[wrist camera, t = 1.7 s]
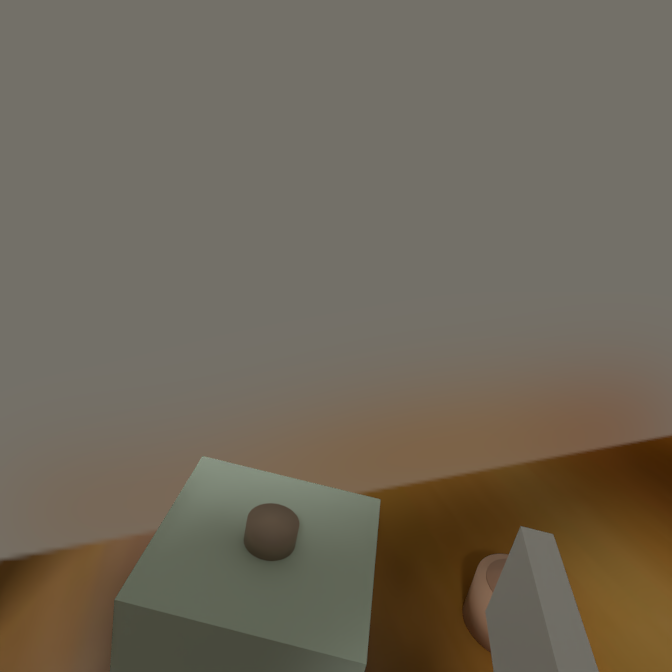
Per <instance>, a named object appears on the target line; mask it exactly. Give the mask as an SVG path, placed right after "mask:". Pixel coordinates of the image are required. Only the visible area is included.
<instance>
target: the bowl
mask: <svg viewBox="0 0 672 672" xmlns="http://www.w3.org/2000/svg"><path fill="white" fill-rule="evenodd" d="M508 555H509V554H493V555H489V556H487V557H485V558H484V559H482V560H481V562H480V563H479V565H478V567H477V570H476V573H475V575H474V578H473V581H472V583H471V586H470V589H469V591H468V594H467V596H466V599H465V602H464V605H463V619H464V622H465V624H466V627H467V629H468V630H469V632H470V633H471V635H472V636H473V637H474V639H475V640H476V641H477V642H478V643H479V644H480V645H481V646H482V647H484V648H485V649H486V650H487V651H489V652H491V648H490V641H489V634H488V627H487V620H486V613H485V611H486V608H487V606H488V604H489V601H490V599H491V596H492V594H493V592H494V589H495V587H496V584H497V582H498V580H499V577H500V575H501V572H502V570H503V567H504V565H505V563H506V560H507V558H508Z"/></svg>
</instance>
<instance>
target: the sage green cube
mask: <svg viewBox="0 0 672 672" xmlns="http://www.w3.org/2000/svg"><path fill="white" fill-rule="evenodd" d="M380 500H381V499H377V498H373V497H369V496H364V495H360V494H356V493H352V492H348V491H344V490H339V489H336V488H332V487H327V486H323V485H319V484H315V483H311V482H307V481H303V480H298V479H295V478H290V477H286V476H282V475H278V474H274V473H270V472H266V471H262V470H258V469H253V468H249V467H245V466H241V465H237V464H233V463H229V462H225V461H220V460H217V459H212V458H208V457H204V456H202V458H201V460H200V461H199V463H198V465H197V466H196V468H195V469H194V471H193V473H192V475H191V476H190V478H189V479H188V481H187V483H186V484H185V486H184V488H183V489H182V491H181V492H180V494H179V496H178V497H177V499H176V501H175V502H174V504H173V505H172V507H171V509H170V510H169V512H168V514H167V515H166V517H165V518H164V520H163V522H162V523H161V525H160V526H159V528H158V530H157V531H156V533H155V535H154V536H153V538H152V539H151V541H150V543H149V544H148V546H147V548H146V549H145V551H144V552H143V554H142V556H141V557H140V559H139V561H138V562H137V564H136V566H135V567H134V569H133V570H132V572H131V574H130V575H129V577H128V579H127V580H126V582H125V583H124V585H123V587H122V588H121V590H120V592H119V593H118V595H117V596H116V598H115V600H114V616H113V632H112V649H111V665H110V672H364V671H365V668H366V664H367V653H368V641H369V629H370V617H371V605H372V594H373V582H374V570H375V558H376V547H377V535H378V523H379V511H380Z"/></svg>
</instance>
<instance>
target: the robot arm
mask: <svg viewBox="0 0 672 672" xmlns="http://www.w3.org/2000/svg"><path fill="white" fill-rule="evenodd" d="M485 613H486V620H487V627H488V634H489V641H490V648H491V655H492V662H493V669H494V672H599V671H598V668H597V665H596V662H595V659H594V656H593V653H592V650H591V647H590V644H589V641H588V638H587V635H586V632H585V629H584V626H583V623H582V620H581V617H580V614H579V611H578V608H577V605H576V602H575V599H574V596H573V593H572V590H571V587H570V584H569V580H568V577H567V574H566V571H565V568H564V565H563V562H562V559H561V556H560V553H559V550H558V547H557V544H556V541H555V538H554V535H553V534H550V533H546V532H542V531H538V530H534V529H530V528H526V527H522V526H520V529H519V531H518V534H517V536H516V539H515V541H514V543H513V546H512V548H511V551H510V553H509V555H508V558H507V560H506V563H505V565H504V567H503V570H502V572H501V575H500V577H499V580H498V582H497V584H496V587H495V589H494V592H493V594H492V596H491V599H490V601H489V604H488V606H487V608H486V611H485Z"/></svg>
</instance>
